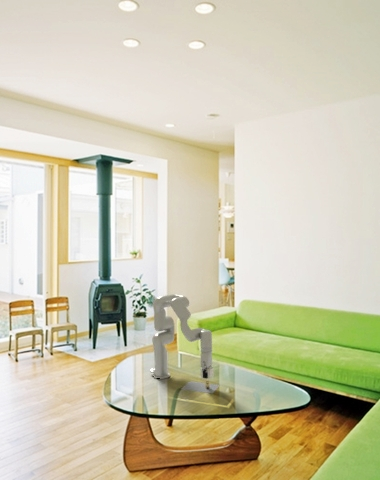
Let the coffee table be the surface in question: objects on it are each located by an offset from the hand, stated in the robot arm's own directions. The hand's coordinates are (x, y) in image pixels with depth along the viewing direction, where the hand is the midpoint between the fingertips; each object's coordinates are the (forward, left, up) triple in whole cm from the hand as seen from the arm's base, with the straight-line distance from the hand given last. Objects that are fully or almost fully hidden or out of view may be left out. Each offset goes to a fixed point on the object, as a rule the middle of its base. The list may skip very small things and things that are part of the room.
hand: (207, 375), depth 260 cm
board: (-5, 0, -9) cm, 11 cm away
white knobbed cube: (0, 0, -1) cm, 1 cm away
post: (0, 0, -8) cm, 8 cm away
